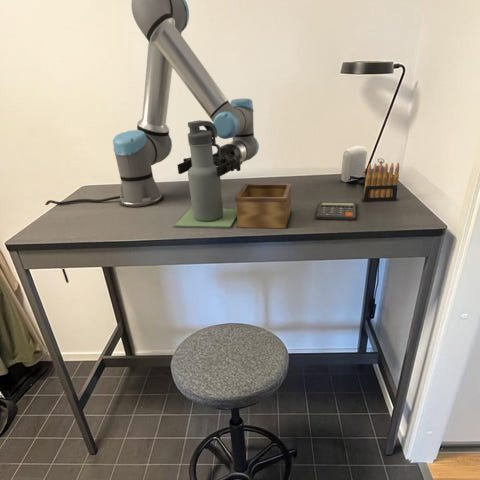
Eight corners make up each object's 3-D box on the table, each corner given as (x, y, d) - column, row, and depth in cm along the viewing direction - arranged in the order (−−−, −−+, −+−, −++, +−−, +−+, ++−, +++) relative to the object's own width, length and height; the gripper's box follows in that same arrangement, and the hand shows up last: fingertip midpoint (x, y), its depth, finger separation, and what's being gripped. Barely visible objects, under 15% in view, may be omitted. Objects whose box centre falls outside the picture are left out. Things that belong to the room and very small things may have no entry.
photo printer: (357, 176, 160) (360, 143, 153) (365, 178, 157) (369, 144, 150) (339, 181, 156) (341, 147, 149) (347, 183, 153) (350, 149, 146)
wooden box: (237, 227, 120) (235, 198, 115) (246, 211, 133) (244, 183, 128) (286, 228, 117) (286, 198, 112) (291, 211, 130) (291, 183, 125)
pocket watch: (391, 182, 150) (395, 154, 145) (393, 188, 144) (397, 159, 138) (368, 182, 152) (372, 154, 147) (369, 188, 146) (373, 159, 140)
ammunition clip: (363, 201, 134) (367, 164, 127) (362, 199, 135) (366, 163, 129) (396, 200, 133) (402, 163, 126) (394, 198, 134) (400, 161, 127)
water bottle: (210, 209, 134) (201, 117, 119) (230, 215, 128) (223, 119, 112) (187, 218, 128) (174, 122, 113) (206, 224, 122) (195, 125, 107)
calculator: (316, 215, 122) (320, 200, 134) (316, 218, 122) (319, 203, 134) (355, 216, 119) (355, 201, 131) (355, 219, 120) (355, 204, 132)
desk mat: (174, 227, 124) (174, 225, 124) (190, 210, 137) (189, 208, 137) (230, 228, 120) (230, 226, 120) (240, 210, 133) (240, 208, 133)
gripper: (265, 168, 130) (235, 186, 115) (200, 165, 140) (165, 180, 125) (264, 144, 126) (234, 159, 110) (198, 142, 136) (161, 155, 120)
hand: (197, 170), depth 117 cm, fingers open, 13 cm apart
